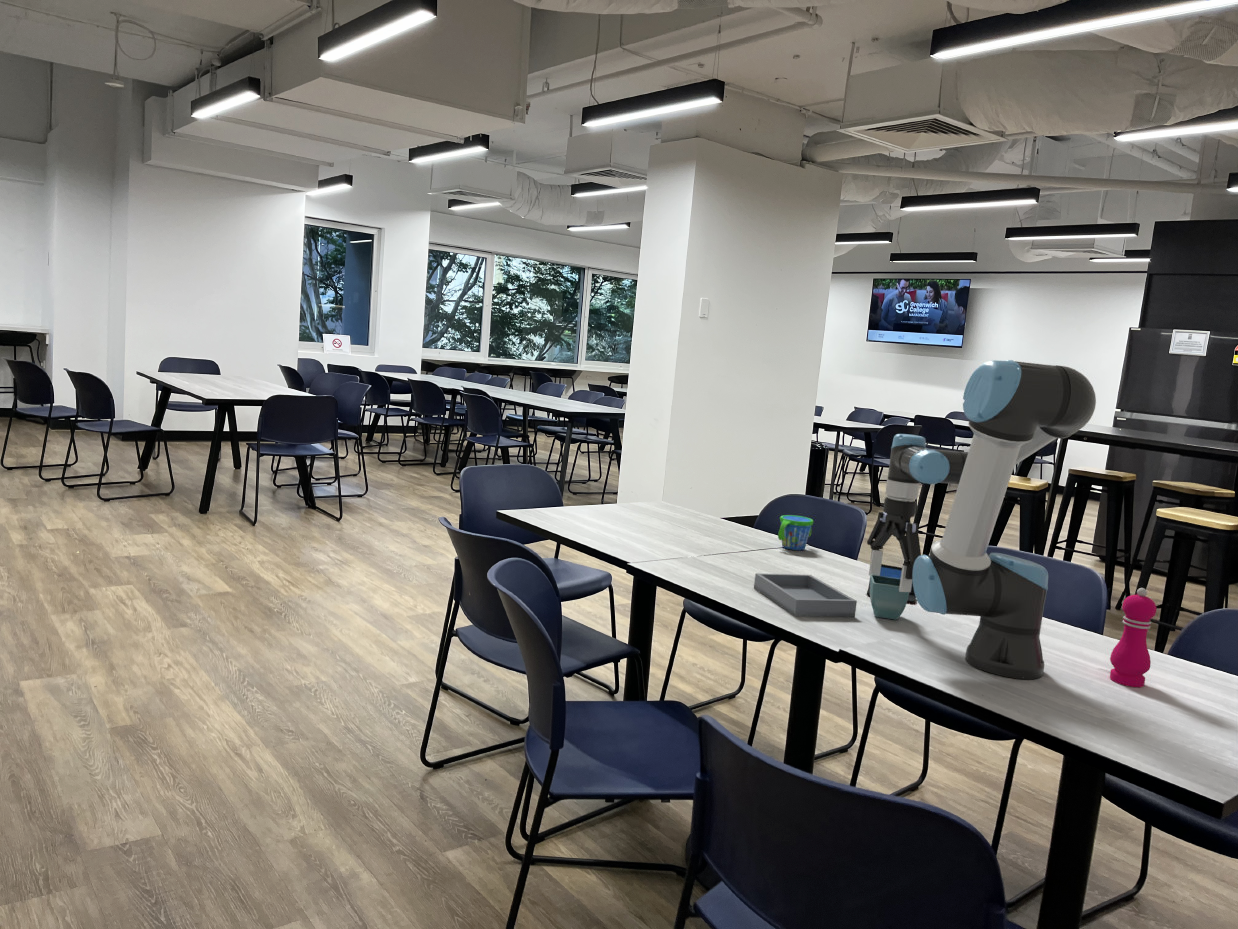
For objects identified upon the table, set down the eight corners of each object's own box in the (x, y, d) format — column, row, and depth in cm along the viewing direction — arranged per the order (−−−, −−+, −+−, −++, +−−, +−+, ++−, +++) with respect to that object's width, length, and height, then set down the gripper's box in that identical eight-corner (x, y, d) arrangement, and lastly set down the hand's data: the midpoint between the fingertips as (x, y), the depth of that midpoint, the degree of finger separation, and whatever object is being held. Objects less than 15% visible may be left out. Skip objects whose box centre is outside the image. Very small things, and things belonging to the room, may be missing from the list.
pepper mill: (1131, 689, 175) (1147, 593, 173) (1098, 676, 182) (1114, 583, 179) (1154, 687, 178) (1171, 592, 176) (1122, 674, 185) (1137, 583, 182)
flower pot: (906, 624, 208) (911, 587, 207) (868, 618, 210) (873, 582, 208) (901, 614, 216) (906, 579, 215) (865, 609, 218) (870, 574, 217)
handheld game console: (865, 597, 231) (869, 570, 230) (868, 588, 241) (872, 562, 240) (915, 605, 227) (918, 578, 226) (916, 596, 237) (919, 570, 236)
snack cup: (789, 553, 277) (793, 522, 276) (765, 546, 285) (768, 515, 284) (821, 550, 286) (824, 520, 285) (796, 543, 295) (800, 514, 293)
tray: (854, 617, 210) (856, 600, 209) (794, 616, 205) (796, 599, 205) (808, 589, 233) (810, 574, 232) (753, 588, 228) (755, 573, 228)
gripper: (946, 509, 199) (932, 599, 202) (886, 489, 222) (875, 569, 225) (917, 508, 197) (904, 598, 200) (860, 487, 220) (849, 568, 223)
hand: (888, 583), depth 212 cm, fingers open, 13 cm apart
